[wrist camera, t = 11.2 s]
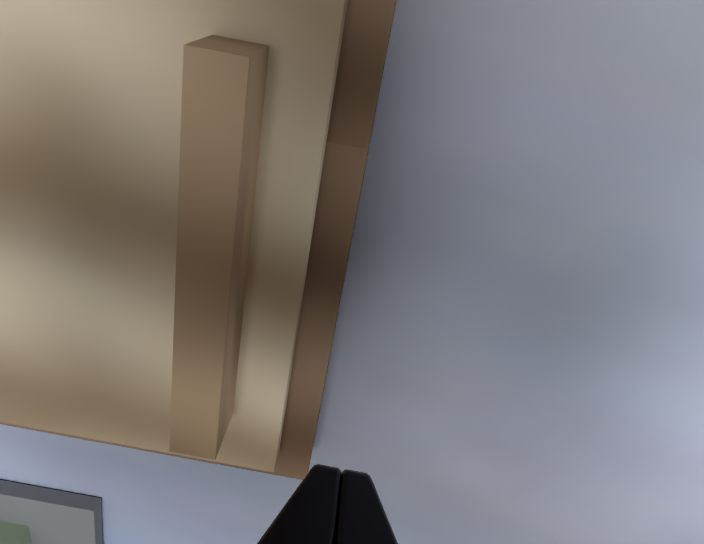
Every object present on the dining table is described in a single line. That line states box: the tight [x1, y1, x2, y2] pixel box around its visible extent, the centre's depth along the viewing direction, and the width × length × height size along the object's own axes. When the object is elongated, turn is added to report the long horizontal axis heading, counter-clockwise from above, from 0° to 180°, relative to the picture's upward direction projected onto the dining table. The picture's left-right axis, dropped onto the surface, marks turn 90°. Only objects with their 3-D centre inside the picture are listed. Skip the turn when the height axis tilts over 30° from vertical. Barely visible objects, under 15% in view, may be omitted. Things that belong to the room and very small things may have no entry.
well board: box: [0, 0, 396, 480], centre depth 16 cm, size 16×19×2 cm
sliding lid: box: [0, 0, 348, 472], centre depth 14 cm, size 14×9×3 cm, turn 170°
